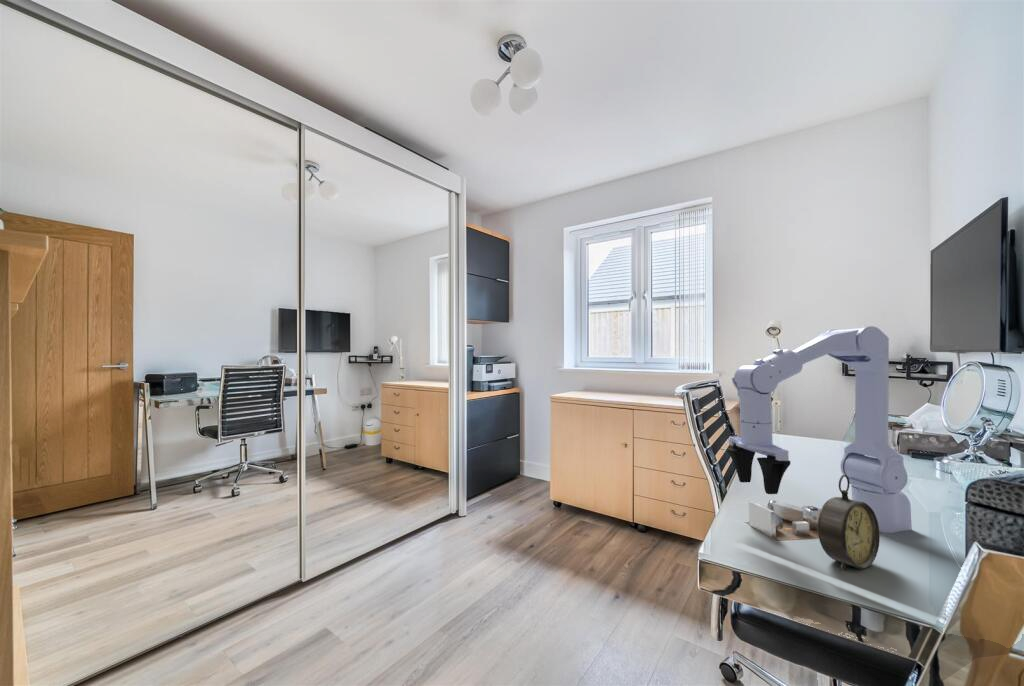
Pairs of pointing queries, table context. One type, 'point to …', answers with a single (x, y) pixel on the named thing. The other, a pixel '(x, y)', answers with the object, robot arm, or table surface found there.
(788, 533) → the board
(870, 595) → the table surface
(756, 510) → the square plate with knob
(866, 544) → the alarm clock
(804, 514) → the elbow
